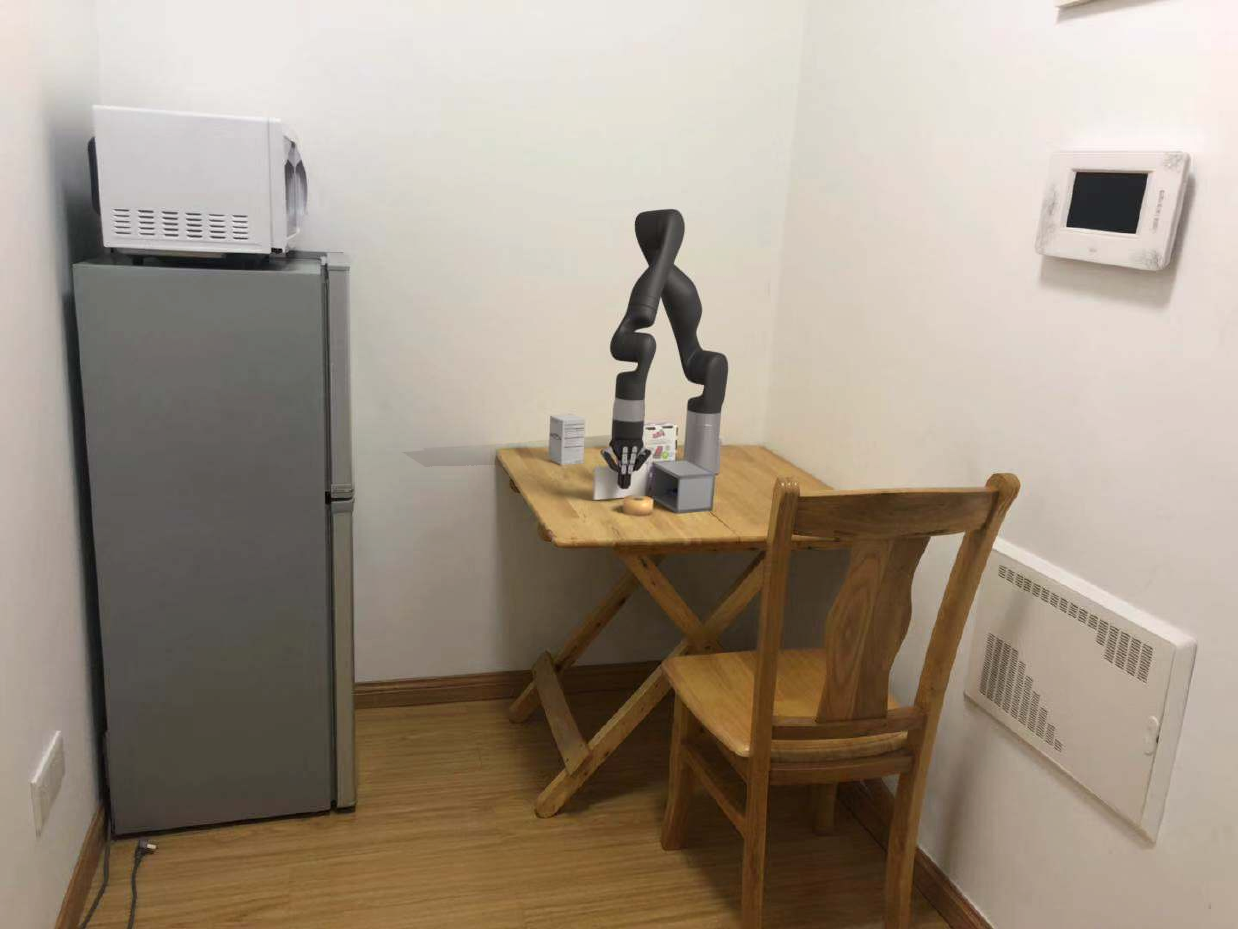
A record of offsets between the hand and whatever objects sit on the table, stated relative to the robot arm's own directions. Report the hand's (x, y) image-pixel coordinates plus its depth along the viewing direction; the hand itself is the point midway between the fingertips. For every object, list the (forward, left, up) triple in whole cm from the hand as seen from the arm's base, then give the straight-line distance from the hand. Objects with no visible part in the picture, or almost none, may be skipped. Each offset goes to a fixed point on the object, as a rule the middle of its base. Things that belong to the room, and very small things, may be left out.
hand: (623, 488), depth 237 cm
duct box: (-14, +4, -4) cm, 15 cm away
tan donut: (0, +7, -4) cm, 8 cm away
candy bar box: (-13, -11, -4) cm, 18 cm away
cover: (-1, -3, -4) cm, 5 cm away
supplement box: (-2, -41, -4) cm, 41 cm away
